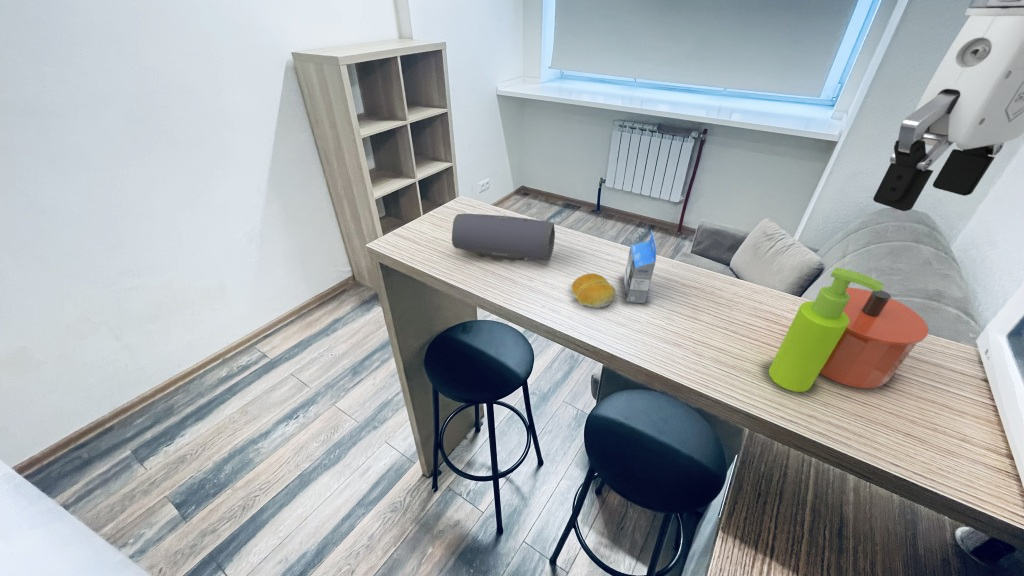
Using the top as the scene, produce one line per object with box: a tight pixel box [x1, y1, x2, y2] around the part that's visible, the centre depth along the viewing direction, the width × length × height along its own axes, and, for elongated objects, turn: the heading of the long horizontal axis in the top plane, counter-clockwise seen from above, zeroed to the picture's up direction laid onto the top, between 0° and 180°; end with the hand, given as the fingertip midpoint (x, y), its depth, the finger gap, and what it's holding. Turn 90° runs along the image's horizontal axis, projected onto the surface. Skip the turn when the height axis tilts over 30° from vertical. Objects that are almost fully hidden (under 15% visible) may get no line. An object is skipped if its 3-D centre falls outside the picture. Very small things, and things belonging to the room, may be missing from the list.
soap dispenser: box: [768, 266, 884, 393], centre depth 59 cm, size 6×7×20 cm
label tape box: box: [623, 229, 658, 304], centre depth 81 cm, size 9×4×12 cm, turn 171°
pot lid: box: [843, 286, 929, 345], centre depth 61 cm, size 14×14×5 cm
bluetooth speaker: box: [451, 213, 556, 262], centre depth 95 cm, size 23×9×10 cm, turn 76°
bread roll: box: [571, 273, 616, 309], centre depth 82 cm, size 8×9×4 cm
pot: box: [819, 330, 918, 389], centre depth 65 cm, size 13×13×10 cm
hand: (921, 198), depth 42 cm, fingers open, 9 cm apart
